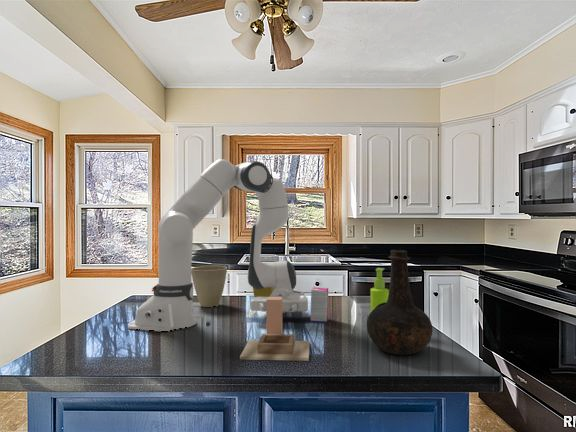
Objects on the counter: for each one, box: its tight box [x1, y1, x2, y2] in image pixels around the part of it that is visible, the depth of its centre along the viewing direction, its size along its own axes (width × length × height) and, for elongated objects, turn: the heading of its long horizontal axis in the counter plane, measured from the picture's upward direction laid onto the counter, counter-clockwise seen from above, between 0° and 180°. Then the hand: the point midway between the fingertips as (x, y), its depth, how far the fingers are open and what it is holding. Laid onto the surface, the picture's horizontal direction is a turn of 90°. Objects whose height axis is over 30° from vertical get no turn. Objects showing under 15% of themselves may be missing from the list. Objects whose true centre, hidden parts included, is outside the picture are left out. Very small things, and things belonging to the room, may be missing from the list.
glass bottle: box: [366, 249, 433, 356], centre depth 112 cm, size 18×18×28 cm
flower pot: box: [252, 287, 275, 298], centre depth 167 cm, size 9×9×9 cm
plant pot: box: [191, 265, 228, 308], centre depth 168 cm, size 15×15×16 cm
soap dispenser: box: [369, 267, 389, 313], centre depth 133 cm, size 6×7×20 cm
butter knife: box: [248, 310, 258, 319], centre depth 147 cm, size 1×24×3 cm
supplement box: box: [309, 286, 329, 324], centre depth 143 cm, size 6×6×12 cm
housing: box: [239, 333, 311, 362], centre depth 111 cm, size 18×14×3 cm
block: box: [266, 297, 284, 334], centre depth 124 cm, size 4×4×12 cm
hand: (277, 309), depth 133 cm, fingers open, 8 cm apart
